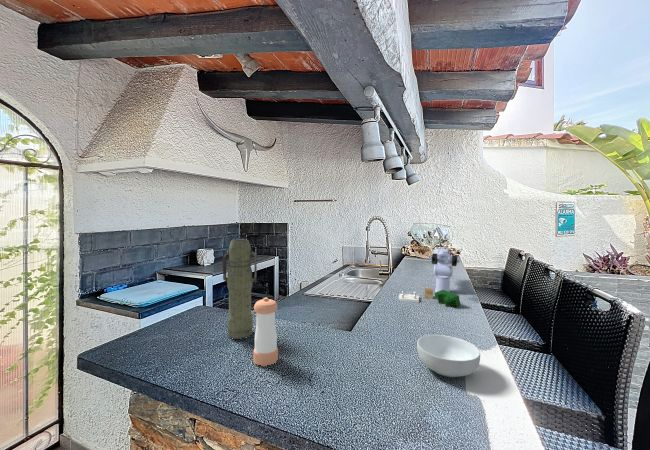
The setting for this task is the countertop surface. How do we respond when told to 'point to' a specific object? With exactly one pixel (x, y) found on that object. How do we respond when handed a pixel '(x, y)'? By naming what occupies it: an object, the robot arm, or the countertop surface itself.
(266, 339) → the pepper shaker
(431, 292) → the block
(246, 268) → the thermos
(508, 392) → the countertop surface
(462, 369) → the cereal bowl
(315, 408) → the countertop surface
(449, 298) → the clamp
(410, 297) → the plate
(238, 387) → the countertop surface
